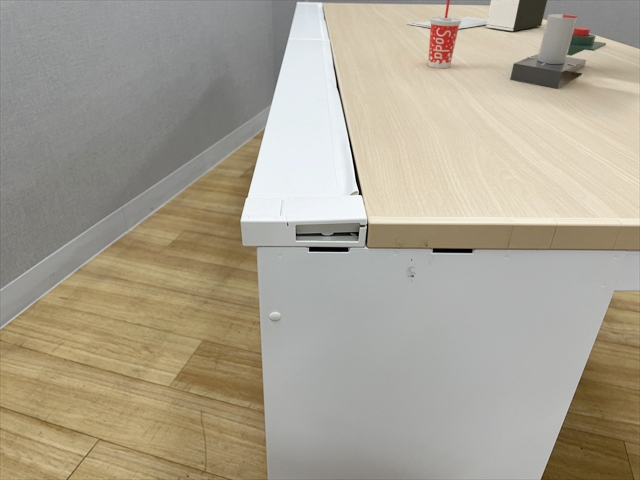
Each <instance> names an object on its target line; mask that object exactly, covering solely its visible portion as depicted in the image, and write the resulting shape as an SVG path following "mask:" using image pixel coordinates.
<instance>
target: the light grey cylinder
mask: <svg viewBox="0 0 640 480" xmlns="http://www.w3.org/2000/svg"><path fill="white" fill-rule="evenodd" d="M577 21H578V15H574V14H563V13H561V14H559V13H552V14H548V16H547V19H546V23H545V27H544V30H543V35H542V39H541V43H540V46H539V51H538V53H537V54H538V58H537V60H538V61H539V62H543V63H548V64H564V63H565V60H566V57H568V55H567V53H568V50H569V46H570V42H571V39H572V35H573V32H574V28H575V27H576V25H577Z"/></svg>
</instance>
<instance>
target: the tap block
mask: <svg viewBox="0 0 640 480" xmlns="http://www.w3.org/2000/svg"><path fill="white" fill-rule="evenodd" d="M538 54H539V53H537V54H534V55H531V56H526V58H523V59H521V60H518V61H516V62H513V65H512V68H511V73H510V78H509V80H512V81H517V82H521V83H525V84H533V85H538V86H542V87H546V88H552V89H559V88H561V87H563V86H565V85H567V84H568V83H570V82H572V81H574V80H576V79H579V78H580V77H581V76H583V73H582V72H576V71H578V70H581V69H582V68H584V67H585V65H586V63H587V59H585V58H584V59H583V58H578V57H572V56H567V57H566V60H565V63H564V64H548V63H543V62H539V61H538V60H537V58H538Z"/></svg>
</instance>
